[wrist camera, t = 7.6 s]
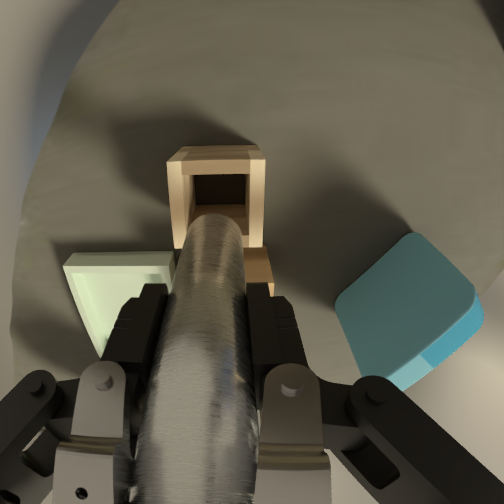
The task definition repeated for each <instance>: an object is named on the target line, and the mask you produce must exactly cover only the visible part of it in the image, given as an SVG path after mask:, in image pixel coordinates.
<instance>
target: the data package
mask: <svg viewBox="0 0 504 504" xmlns="http://www.w3.org/2000/svg"><path fill="white" fill-rule="evenodd" d="M335 312H336V314H337V316H338V319H339V321H340V324H341V326H342V328H343V331H344V333H345V336H346V338H347V340H348V343H349V345H350V348H351V350H352V353H353V355H354V358H355V360H356V363H357V365H358V368H359V370H360V373H361V375H362V377H365V376H369V375H376V376H381V377H384V378H386V379H388V380H390V381H391V382H392V383H393V384H394V385H396V386H397V387H398V388H399V389H400V390H401V391H404V390H405V389H407V388H408V387H409V386H411V385H412V384H414V383H415V382H417V381H418V380H419V379H421V378H422V377H423V376H425V375H426V374H427V373H429V372H430V371H431V370H432V369H434V368H435V367H436V366H438V365H439V364H440V363H441V362H443V361H444V360H445V359H446V358H448V356H450V355H451V354H452V353H453V352H455V351H456V350H457V349H458V348H459V347H460V346H462V345H463V344H464V343H465V342H466V341H467V340H468V339H469V338H470V337H472V335H473V334H475V333H476V332H477V331H478V330H479V329H480V327H481V326H482V323H483V320H484V311H483V309H482V306H481V303H480V300H479V298H478V295H477V293H476V290H475V288H474V286H473V285H472V284H471V283H470V281H469V280H468V279H467V278H466V277H465V276H464V275H463V274H462V273H461V272H460V271H459V270H458V269H457V268H456V267H455V266H454V265H453V264H452V263H451V262H450V261H449V260H448V259H447V258H446V257H445V256H444V255H443V254H441V253H440V252H439V251H438V250H437V249H436V248H435V247H434V246H433V245H432V244H431V243H430V242H429V241H428V240H426V239H425V238H424V237H423V236H422V235H421V234H419V233H416V232H413V233H409V234H407V235H405V236H404V237H402V238H401V239H400V240H399V241H398V242H397V243H396V244H395V245H394V246H393V247H392V248H391V249H390V250H389V251H388V252H387V253H386V254H384V255H383V256H382V257H381V258H380V259H379V260H378V261H377V262H376V263H375V264H374V265H372V266H371V267H370V268H369V269H368V270H367V271H366V272H365V273H364V274H362V275H361V276H360V277H359V278H358V279H357V280H356V281H355V282H353V283H352V284H351V285H350V286H349V287H348V288H346V289H345V290H344V291H343V292H342V293H341V294H340V295H339V296H338V298H337V300H336V302H335Z"/></svg>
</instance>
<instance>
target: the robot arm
mask: <svg viewBox="0 0 504 504" xmlns="http://www.w3.org/2000/svg"><path fill="white" fill-rule="evenodd" d="M168 297H169V293H168V287H167V285H166V283H145V284H144V286H143V288H142V291H141V293H140V296H139V297H131V298H130V299H129V300H128V301H127V302H126V303H125V304H124V305H123V306H122V307H121V309H120V312H119V314H118V317H117V319H116V321H115V324H114V328H113V329H112V331H111V334H110V336H109V339H108V341H107V344H106V347H105V349H104V352H103V354H102V357H101V360H100V361H99V362H96V363H94V364H92V365H90V366H89V367H87V368H86V369H85V370H84V372H83V373H82V375H81V378H78V379H72V380H65V381H58V382H57V381H56V380H55V378H54V377H53V375H52V374H51V373H49V372H48V371H45V370H36V371H33V372H31V373H29V374H27V375H26V376H25V377H24V378H23V379H22V380H21V381H20V382H19V383H18V384H17V385H16V386H15V387H14V388H13V389H12V390H11V391H10V392H9V393H8V394H7V395H6V396H5V397H4V398H3V399H2V400H1V401H0V504H41V502H42V501H43V500H44V499H45V497H46V496H47V495H48V494H49V492H50V491H51V490H52V489H53V498H52V504H137V503H131V502H129V499H130V490H131V488H132V480H133V468H134V460H135V453H136V446H137V440H138V434H139V428H140V422H141V417H142V411H143V406H144V401H145V395H146V390H147V386H148V381H149V376H150V371H151V367H152V362H153V358H154V353H155V349H156V344H157V340H158V336H159V332H160V328H161V324H162V320H163V316H164V312H165V308H166V304H167V300H168ZM246 301H247V314H248V326H249V338H250V351H251V362H252V374H253V383H254V386H255V394H256V405H257V410H260V418H261V427H260V440H259V451H258V461H257V471H256V481H255V490H254V500H253V504H332V503H331V502H332V498H331V467H330V460H329V456H328V455H327V453H325V452H324V448H325V449H330V450H331V451H332V452H333V454H334V455H335V456H336V457H337V458H338V459H339V460H340V462H341V463H342V464H343V465H344V466H345V467H346V468H347V470H348V471H349V472H350V473H351V474H352V475H353V476H354V477H355V478H356V479H357V481H358V482H359V483H360V484H361V485H362V486H363V487H364V488H365V489H366V490H367V491H368V492H369V493H370V494H371V496H372V497H373V498H374V499H375V500H376V501H377V502H379V504H504V484H503V483H502V482H501V481H500V480H499V479H498V478H497V477H496V476H495V475H493V474H492V473H491V472H490V471H489V470H488V469H487V468H486V467H485V466H483V465H482V464H481V463H480V462H479V461H478V460H477V459H476V458H475V457H474V456H472V455H471V454H470V453H469V452H468V451H467V450H466V449H465V448H464V447H463V446H461V445H460V444H459V443H458V442H457V441H456V440H455V439H454V438H453V437H452V436H450V435H449V434H448V433H447V432H446V431H445V430H444V429H443V428H442V427H440V426H439V425H438V424H437V423H436V422H435V421H434V420H433V419H432V418H431V417H429V416H428V415H427V414H426V413H425V412H424V411H423V410H422V409H421V408H420V407H419V406H417V405H416V404H415V403H414V402H413V401H412V400H411V399H410V398H409V397H407V396H406V395H405V394H404V393H403V392H402V391H401V390H400V389H399V388H398V387H397V386H396V385H394V384H393V383H392V382H391V381H390V380H388V379H386V378H384V377H381V376H376V375H369V376H365V377H362V378H360V379H358V380H357V381H356V382H355V383H354V384H353V386H352V385H345V384H337V383H332V382H328V381H325V380H323V379H321V378H319V377H318V376H316V374H315V373H314V372H313V371H312V370H311V369H310V368H309V366H308V363H307V360H306V356H305V352H304V348H303V344H302V341H301V337H300V333H299V329H298V326H297V322H296V319H295V314H294V311H293V307H292V305H291V304H290V303H289V302H288V301H287V299H286V298H285V297H284V296H272V297H271V296H270V291H269V286H268V282H246ZM43 426H44V427H45V428H46V429H45V430H44V431H43V432H42V434H41V435H40V436H39V437H38V438H37V439H36V440H35V441H34V443H33V444H32V445H31V446H30V447H29V448H28V449H27V450H26V451H22V450H23V449H24V448H25V447H26V445H27V444H28V443H29V442H30V441H31V440H32V438H33V437H34V436H35V435H36V434H37V433H38V432H39V431H40V430H41V428H42V427H43Z"/></svg>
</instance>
